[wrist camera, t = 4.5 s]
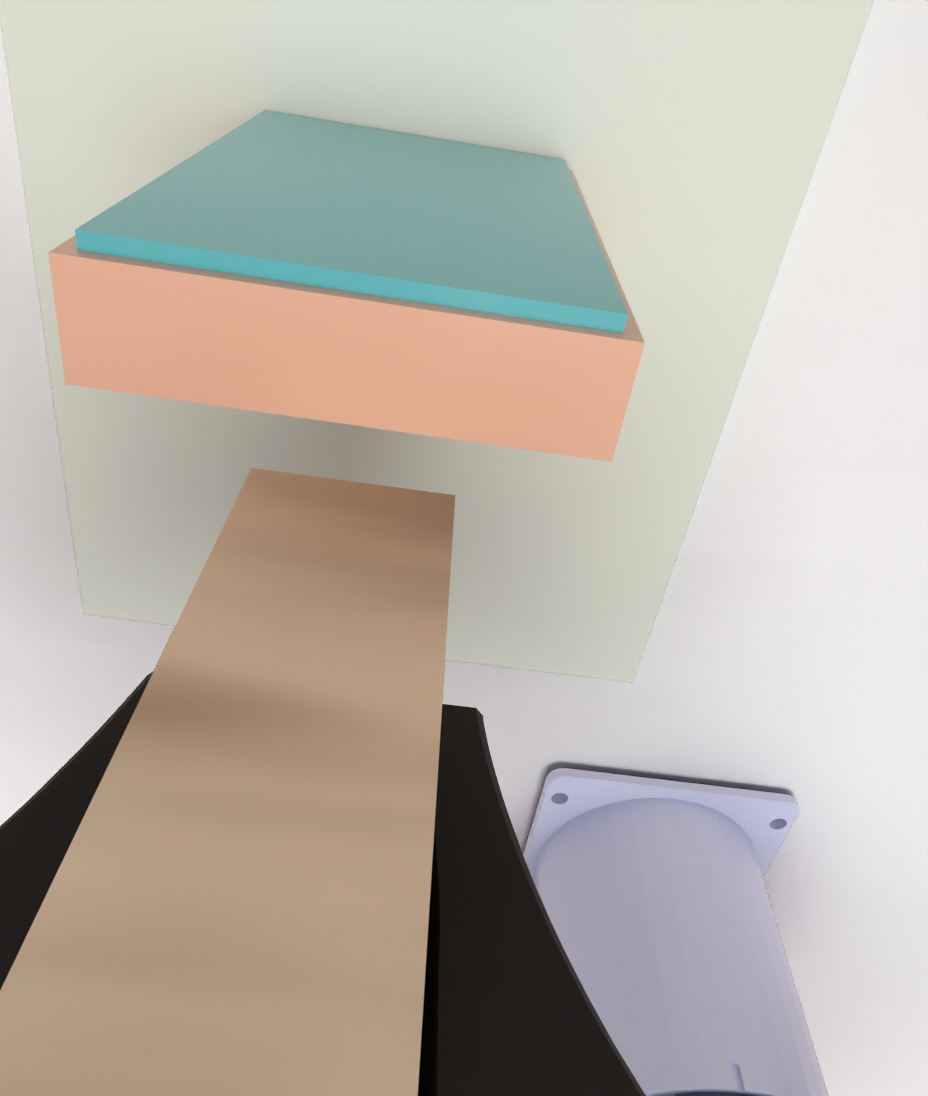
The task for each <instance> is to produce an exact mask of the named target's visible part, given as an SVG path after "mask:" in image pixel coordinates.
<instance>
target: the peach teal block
mask: <svg viewBox="0 0 928 1096" xmlns="http://www.w3.org/2000/svg"><path fill="white" fill-rule="evenodd" d="M48 255H49V263H50V270H51V278H52V286H53V294H54V301H55V309H56V317H57V324H58V332H59V340H60V347H61V355H62V363H63V371H64V378H65V384H67V385H75V386H82V387H89V388H96V389H103V390H110V391H117V392H124V393H131V394H138V395H145V396H152V397H159V398H166V399H173V400H180V401H187V402H194V403H201V404H208V405H215V406H222V407H229V408H236V409H243V410H250V411H257V412H264V413H271V414H278V415H285V416H292V417H299V418H306V419H313V420H321V421H328V422H335V423H342V424H349V425H356V426H363V427H370V428H377V429H384V430H391V431H398V432H405V433H412V434H419V435H426V436H433V437H440V438H447V439H454V440H461V441H468V442H475V443H482V444H489V445H496V446H503V447H510V448H517V449H524V450H531V451H538V452H545V453H552V454H559V455H567V456H574V457H581V458H588V459H595V460H602V461H609V462H612V459H613V456H614V452H615V449H616V445H617V441H618V438H619V434H620V431H621V427H622V424H623V420H624V416H625V413H626V409H627V406H628V402H629V398H630V395H631V391H632V388H633V384H634V380H635V377H636V373H637V370H638V366H639V363H640V359H641V355H642V352H643V348H644V345H645V342H644V339H643V337H642V335H641V332H640V330H639V327H638V325H637V323H636V320H635V318H634V316H633V313H632V311H631V308H630V306H629V304H628V301H627V299H626V297H625V294H624V292H623V289H622V287H621V285H620V282H619V280H618V277H617V275H616V273H615V270H614V268H613V266H612V263H611V261H610V258H609V256H608V254H607V251H606V249H605V246H604V244H603V242H602V239H601V237H600V235H599V232H598V230H597V227H596V225H595V223H594V220H593V218H592V216H591V213H590V211H589V208H588V206H587V204H586V201H585V199H584V196H583V194H582V192H581V189H580V187H579V185H578V182H577V180H576V177H575V175H574V173H573V171H572V170H569V167H568V165H567V162H566V160H565V159H559V158H553V157H547V156H541V155H535V154H529V153H523V152H517V151H511V150H504V149H498V148H492V147H486V146H480V145H474V144H468V143H462V142H456V141H450V140H444V139H438V138H432V137H425V136H419V135H413V134H407V133H401V132H395V131H389V130H383V129H377V128H371V127H365V126H359V125H353V124H347V123H340V122H334V121H328V120H322V119H316V118H310V117H304V116H298V115H292V114H286V113H280V112H274V111H268V110H264V111H262V112H261V113H259V114H257V115H256V116H254V117H253V118H251V119H249V120H248V121H246V122H245V123H243V124H242V125H240V126H238V127H237V128H235V129H234V130H232V131H230V132H229V133H227V134H226V135H224V136H222V137H221V138H219V139H218V140H216V141H215V142H213V143H211V144H210V145H208V146H207V147H205V148H203V149H202V150H200V151H199V152H197V153H195V154H194V155H192V156H191V157H189V158H188V159H186V160H184V161H183V162H181V163H180V164H178V165H176V166H175V167H173V168H172V169H170V170H168V171H167V172H165V173H164V174H162V175H161V176H159V177H157V178H156V179H154V180H153V181H151V182H149V183H148V184H146V185H145V186H143V187H141V188H140V189H138V190H137V191H135V192H134V193H132V194H130V195H129V196H127V197H126V198H124V199H122V200H121V201H119V202H118V203H116V204H115V205H113V206H111V207H110V208H108V209H107V210H105V211H103V212H102V213H100V214H99V215H97V216H95V217H94V218H92V219H91V220H89V221H88V222H86V223H84V224H83V225H81V226H80V227H78V228H76V229H75V235H74V236H73V237H71V238H70V239H68V240H67V241H65V242H64V243H62V244H60V245H59V246H57V247H56V248H54V249H53V250H51V251H50V252H48Z"/></svg>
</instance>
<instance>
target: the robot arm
mask: <svg viewBox="0 0 928 1096" xmlns="http://www.w3.org/2000/svg"><path fill="white" fill-rule="evenodd" d="M153 672H154V671H153ZM153 672H152V673H150V674H149V675H147V676H146V678H145V679H144V680H143V681H142V682H141V683H140V684H139V686H138V687H137V688H136V689H135V690H134V691H133V692H132V694H131V695H130V696H129V697H128V698H127V699H126V700H125V701H124V703H123V704H122V705H121V706H120V707H119V708H118V709H117V710H116V711H115V712H114V714H113V715H112V716H111V717H110V718H109V719H108V720H107V721H106V722H105V723H104V724H103V726H102V727H101V728H100V729H99V730H98V731H97V732H96V733H95V734H94V735H93V736H92V737H91V738H90V739H89V740H88V741H87V742H86V743H85V745H84V746H83V747H82V748H81V749H80V750H79V751H78V752H77V753H76V754H75V755H74V756H73V757H72V758H71V759H70V760H69V761H68V762H67V763H66V764H65V765H64V766H63V767H62V768H61V769H60V770H59V771H58V772H57V773H56V774H55V775H54V776H53V777H52V778H51V779H50V780H49V781H48V782H47V783H46V784H45V785H44V786H43V787H42V788H41V789H40V790H39V791H38V792H37V793H36V794H35V795H34V796H33V797H32V798H30V799H29V800H28V801H27V802H26V803H25V804H24V805H23V806H22V807H21V808H20V809H19V810H18V811H16V812H15V813H14V814H13V815H12V816H11V817H10V818H9V819H8V820H7V821H6V822H4V823H3V824H2V825H1V826H0V990H1V988H2V986H3V984H4V982H5V980H6V978H7V976H8V974H9V971H10V969H11V967H12V965H13V963H14V961H15V959H16V957H17V955H18V953H19V951H20V949H21V946H22V944H23V942H24V940H25V938H26V936H27V934H28V932H29V930H30V928H31V926H32V924H33V921H34V919H35V917H36V915H37V913H38V911H39V909H40V907H41V905H42V903H43V901H44V899H45V896H46V894H47V892H48V890H49V888H50V886H51V884H52V882H53V880H54V878H55V876H56V874H57V871H58V869H59V867H60V865H61V863H62V861H63V859H64V857H65V855H66V853H67V851H68V849H69V846H70V844H71V842H72V840H73V838H74V836H75V834H76V832H77V830H78V828H79V826H80V824H81V821H82V819H83V817H84V815H85V813H86V811H87V809H88V807H89V805H90V803H91V801H92V799H93V796H94V794H95V792H96V790H97V788H98V786H99V784H100V782H101V780H102V778H103V776H104V774H105V772H106V769H107V767H108V765H109V763H110V761H111V759H112V757H113V755H114V753H115V751H116V749H117V747H118V744H119V742H120V740H121V738H122V736H123V734H124V732H125V730H126V728H127V726H128V724H129V722H130V719H131V717H132V715H133V713H134V711H135V709H136V707H137V705H138V703H139V701H140V699H141V697H142V694H143V692H144V690H145V688H146V686H147V684H148V682H149V680H150V678H151V676H152V674H153ZM556 793H562V794H556ZM799 812H800V809H799V806H798V804H797V801H796V799H795V798H794V797H793V796H790V795H787V794H780V793H771V792H763V791H754V790H746V789H738V788H729V787H721V786H712V785H704V784H695V783H687V782H679V781H670V780H662V779H653V778H645V777H636V776H628V775H620V774H611V773H603V772H594V771H586V770H577V769H569V768H558V769H555V770H553V771H551V772H550V773H549V774H548V775H547V777H546V780H545V783H544V787H543V790H542V793H541V797H540V800H539V803H538V807H537V810H536V813H535V817H534V820H533V823H532V827H531V830H530V833H529V837H528V840H527V843H526V847H525V850H524V853H522V851H521V848H520V845H519V842H518V840H517V837H516V834H515V832H514V829H513V826H512V823H511V821H510V818H509V815H508V812H507V809H506V806H505V803H504V800H503V797H502V794H501V790H500V787H499V784H498V780H497V777H496V774H495V770H494V767H493V763H492V759H491V755H490V751H489V747H488V743H487V738H486V733H485V728H484V722H483V715H482V714H481V713H480V712H479V711H478V710H477V709H476V708H471V707H462V706H454V705H446V704H442V716H441V732H440V748H439V764H438V779H437V795H436V811H435V827H434V843H433V859H432V875H431V891H430V907H429V923H428V939H427V955H426V971H425V987H424V1003H423V1019H422V1035H421V1050H420V1066H419V1082H418V1096H828V1093H827V1089H826V1086H825V1083H824V1079H823V1076H822V1073H821V1069H820V1066H819V1063H818V1060H817V1056H816V1053H815V1050H814V1046H813V1043H812V1040H811V1036H810V1033H809V1030H808V1026H807V1023H806V1020H805V1017H804V1013H803V1010H802V1007H801V1003H800V1000H799V997H798V993H797V990H796V987H795V983H794V980H793V977H792V973H791V970H790V967H789V964H788V960H787V957H786V954H785V950H784V947H783V944H782V940H781V937H780V934H779V930H778V927H777V924H776V921H775V917H774V914H773V911H772V907H771V904H770V901H769V897H768V894H767V891H766V887H765V884H764V881H763V876H764V874H765V872H766V871H767V869H768V867H769V865H770V864H771V862H772V860H773V858H774V857H775V855H776V853H777V852H778V850H779V848H780V846H781V845H782V843H783V841H784V839H785V838H786V836H787V834H788V832H789V831H790V829H791V827H792V825H793V824H794V822H795V820H796V819H797V817H798V815H799Z"/></svg>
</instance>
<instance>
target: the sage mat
mask: <svg viewBox="0 0 928 1096" xmlns="http://www.w3.org/2000/svg"><path fill="white" fill-rule="evenodd" d="M873 2H874V0H0V22H1V30H2V37H3V44H4V51H5V58H6V65H7V72H8V80H9V87H10V94H11V101H12V108H13V115H14V123H15V130H16V137H17V144H18V151H19V158H20V165H21V173H22V180H23V187H24V194H25V201H26V208H27V215H28V223H29V230H30V237H31V244H32V251H33V258H34V266H35V273H36V280H37V287H38V294H39V301H40V308H41V316H42V323H43V330H44V337H45V344H46V351H47V358H48V366H49V373H50V380H51V387H52V394H53V401H54V408H55V416H56V423H57V430H58V437H59V444H60V451H61V459H62V466H63V473H64V480H65V487H66V494H67V501H68V509H69V516H70V523H71V530H72V537H73V544H74V551H75V559H76V566H77V573H78V580H79V587H80V594H81V602H82V609H83V614H85V615H93V616H101V617H109V618H117V619H125V620H133V621H141V622H149V623H157V624H165V625H173V626H176V624H177V622H178V619H179V617H180V615H181V613H182V611H183V609H184V607H185V605H186V603H187V601H188V599H189V597H190V594H191V592H192V590H193V588H194V586H195V584H196V582H197V580H198V578H199V576H200V574H201V572H202V569H203V567H204V565H205V563H206V561H207V559H208V557H209V555H210V553H211V551H212V549H213V547H214V544H215V542H216V540H217V538H218V536H219V534H220V532H221V530H222V528H223V526H224V524H225V522H226V520H227V517H228V515H229V513H230V511H231V509H232V507H233V505H234V503H235V501H236V499H237V497H238V495H239V492H240V490H241V488H242V486H243V484H244V482H245V480H246V478H247V476H248V474H249V472H250V470H251V468H256V469H264V470H271V471H279V472H286V473H294V474H301V475H308V476H316V477H323V478H331V479H338V480H346V481H353V482H361V483H368V484H376V485H383V486H391V487H398V488H405V489H413V490H420V491H428V492H435V493H443V494H450V495H455V508H454V524H453V540H452V556H451V572H450V588H449V604H448V620H447V636H446V652H445V660H451V661H459V662H467V663H475V664H483V665H491V666H499V667H507V668H515V669H523V670H531V671H539V672H547V673H555V674H563V675H571V676H579V677H587V678H595V679H602V680H610V681H618V682H626V683H633V680H634V677H635V674H636V671H637V669H638V666H639V663H640V660H641V657H642V654H643V652H644V649H645V646H646V643H647V640H648V637H649V635H650V632H651V629H652V626H653V623H654V621H655V618H656V615H657V612H658V609H659V606H660V604H661V601H662V598H663V595H664V592H665V589H666V587H667V584H668V581H669V578H670V575H671V573H672V570H673V567H674V564H675V561H676V558H677V556H678V553H679V550H680V547H681V544H682V541H683V539H684V536H685V533H686V530H687V527H688V525H689V522H690V519H691V516H692V513H693V510H694V508H695V505H696V502H697V499H698V496H699V493H700V491H701V488H702V485H703V482H704V479H705V476H706V474H707V471H708V468H709V465H710V462H711V460H712V457H713V454H714V451H715V448H716V445H717V443H718V440H719V437H720V434H721V431H722V428H723V426H724V423H725V420H726V417H727V414H728V412H729V409H730V406H731V403H732V400H733V397H734V395H735V392H736V389H737V386H738V383H739V380H740V378H741V375H742V372H743V369H744V366H745V364H746V361H747V358H748V355H749V352H750V349H751V347H752V344H753V341H754V338H755V335H756V332H757V330H758V327H759V324H760V321H761V318H762V316H763V313H764V310H765V307H766V304H767V301H768V299H769V296H770V293H771V290H772V287H773V284H774V282H775V279H776V276H777V273H778V270H779V268H780V265H781V262H782V259H783V256H784V253H785V251H786V248H787V245H788V242H789V239H790V236H791V234H792V231H793V228H794V225H795V222H796V220H797V217H798V214H799V211H800V208H801V205H802V203H803V200H804V197H805V194H806V191H807V188H808V186H809V183H810V180H811V177H812V174H813V172H814V169H815V166H816V163H817V160H818V157H819V155H820V152H821V149H822V146H823V143H824V140H825V138H826V135H827V132H828V129H829V126H830V124H831V121H832V118H833V115H834V112H835V109H836V107H837V104H838V101H839V98H840V95H841V92H842V90H843V87H844V84H845V81H846V78H847V75H848V73H849V70H850V67H851V64H852V61H853V59H854V56H855V53H856V50H857V47H858V44H859V42H860V39H861V36H862V33H863V30H864V27H865V25H866V22H867V19H868V16H869V13H870V11H871V8H872V5H873ZM264 110H268V111H274V112H280V113H286V114H292V115H298V116H304V117H310V118H316V119H322V120H328V121H334V122H340V123H347V124H353V125H359V126H365V127H371V128H377V129H383V130H389V131H395V132H401V133H407V134H413V135H419V136H425V137H432V138H438V139H444V140H450V141H456V142H462V143H468V144H474V145H480V146H486V147H492V148H498V149H504V150H511V151H517V152H523V153H529V154H535V155H541V156H547V157H553V158H559V159H565V160H566V162H567V165H568V167H569V170H572V171H573V173H574V175H575V177H576V180H577V182H578V185H579V187H580V189H581V192H582V194H583V196H584V199H585V201H586V204H587V206H588V208H589V211H590V213H591V216H592V218H593V220H594V223H595V225H596V227H597V230H598V232H599V235H600V237H601V239H602V242H603V244H604V246H605V249H606V251H607V254H608V256H609V258H610V261H611V263H612V266H613V268H614V270H615V273H616V275H617V277H618V280H619V282H620V285H621V287H622V289H623V292H624V294H625V297H626V299H627V301H628V304H629V306H630V308H631V311H632V313H633V316H634V318H635V320H636V323H637V325H638V327H639V330H640V332H641V335H642V337H643V339H644V342H645V345H644V348H643V352H642V355H641V359H640V363H639V366H638V370H637V373H636V377H635V380H634V384H633V388H632V391H631V395H630V398H629V402H628V406H627V409H626V413H625V416H624V420H623V424H622V427H621V431H620V434H619V438H618V441H617V445H616V449H615V452H614V456H613V459H612V462H609V461H602V460H595V459H588V458H581V457H574V456H567V455H559V454H552V453H545V452H538V451H531V450H524V449H517V448H510V447H503V446H496V445H489V444H482V443H475V442H468V441H461V440H454V439H447V438H440V437H433V436H426V435H419V434H412V433H405V432H398V431H391V430H384V429H377V428H370V427H363V426H356V425H349V424H342V423H335V422H328V421H321V420H313V419H306V418H299V417H292V416H285V415H278V414H271V413H264V412H257V411H250V410H243V409H236V408H229V407H222V406H215V405H208V404H201V403H194V402H187V401H180V400H173V399H166V398H159V397H152V396H145V395H138V394H131V393H124V392H117V391H110V390H103V389H96V388H89V387H82V386H75V385H67V384H65V378H64V371H63V363H62V355H61V347H60V340H59V332H58V324H57V317H56V309H55V301H54V294H53V286H52V278H51V270H50V263H49V255H48V252H50V251H51V250H53V249H54V248H56V247H57V246H59V245H60V244H62V243H64V242H65V241H67V240H68V239H70V238H71V237H73V236H74V235H75V229H76V228H78V227H80V226H81V225H83V224H84V223H86V222H88V221H89V220H91V219H92V218H94V217H95V216H97V215H99V214H100V213H102V212H103V211H105V210H107V209H108V208H110V207H111V206H113V205H115V204H116V203H118V202H119V201H121V200H122V199H124V198H126V197H127V196H129V195H130V194H132V193H134V192H135V191H137V190H138V189H140V188H141V187H143V186H145V185H146V184H148V183H149V182H151V181H153V180H154V179H156V178H157V177H159V176H161V175H162V174H164V173H165V172H167V171H168V170H170V169H172V168H173V167H175V166H176V165H178V164H180V163H181V162H183V161H184V160H186V159H188V158H189V157H191V156H192V155H194V154H195V153H197V152H199V151H200V150H202V149H203V148H205V147H207V146H208V145H210V144H211V143H213V142H215V141H216V140H218V139H219V138H221V137H222V136H224V135H226V134H227V133H229V132H230V131H232V130H234V129H235V128H237V127H238V126H240V125H242V124H243V123H245V122H246V121H248V120H249V119H251V118H253V117H254V116H256V115H257V114H259V113H261V112H262V111H264Z"/></svg>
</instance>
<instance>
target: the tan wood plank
mask: <svg viewBox="0 0 928 1096" xmlns="http://www.w3.org/2000/svg"><path fill="white" fill-rule="evenodd" d="M454 508H455V495H450V494H443V493H435V492H428V491H420V490H413V489H405V488H398V487H391V486H383V485H376V484H368V483H361V482H353V481H346V480H338V479H331V478H323V477H316V476H308V475H301V474H294V473H286V472H279V471H271V470H264V469H256V468H251V470H250V472H249V474H248V476H247V478H246V480H245V482H244V484H243V486H242V488H241V490H240V492H239V495H238V497H237V499H236V501H235V503H234V505H233V507H232V509H231V511H230V513H229V515H228V517H227V520H226V522H225V524H224V526H223V528H222V530H221V532H220V534H219V536H218V538H217V540H216V542H215V544H214V547H213V549H212V551H211V553H210V555H209V557H208V559H207V561H206V563H205V565H204V567H203V569H202V572H201V574H200V576H199V578H198V580H197V582H196V584H195V586H194V588H193V590H192V592H191V594H190V597H189V599H188V601H187V603H186V605H185V607H184V609H183V611H182V613H181V615H180V617H179V619H178V622H177V624H176V626H175V628H174V630H173V632H172V634H171V636H170V638H169V640H168V642H167V644H166V647H165V649H164V651H163V653H162V655H161V657H160V659H159V661H158V663H157V665H156V667H155V669H154V672H153V674H152V676H151V678H150V680H149V682H148V684H147V686H146V688H145V690H144V692H143V694H142V697H141V699H140V701H139V703H138V705H137V707H136V709H135V711H134V713H133V715H132V717H131V719H130V722H129V724H128V726H127V728H126V730H125V732H124V734H123V736H122V738H121V740H120V742H119V744H118V747H117V749H116V751H115V753H114V755H113V757H112V759H111V761H110V763H109V765H108V767H107V769H106V772H105V774H104V776H103V778H102V780H101V782H100V784H99V786H98V788H97V790H96V792H95V794H94V796H93V799H92V801H91V803H90V805H89V807H88V809H87V811H86V813H85V815H84V817H83V819H82V821H81V824H80V826H79V828H78V830H77V832H76V834H75V836H74V838H73V840H72V842H71V844H70V846H69V849H68V851H67V853H66V855H65V857H64V859H63V861H62V863H61V865H60V867H59V869H58V871H57V874H56V876H55V878H54V880H53V882H52V884H51V886H50V888H49V890H48V892H47V894H46V896H45V899H44V901H43V903H42V905H41V907H40V909H39V911H38V913H37V915H36V917H35V919H34V921H33V924H32V926H31V928H30V930H29V932H28V934H27V936H26V938H25V940H24V942H23V944H22V946H21V949H20V951H19V953H18V955H17V957H16V959H15V961H14V963H13V965H12V967H11V969H10V971H9V974H8V976H7V978H6V980H5V982H4V984H3V986H2V988H1V990H0V1096H418V1082H419V1066H420V1050H421V1035H422V1019H423V1003H424V987H425V971H426V955H427V939H428V923H429V907H430V891H431V875H432V859H433V843H434V827H435V811H436V795H437V779H438V764H439V748H440V732H441V716H442V700H443V684H444V668H445V652H446V636H447V620H448V604H449V588H450V572H451V556H452V540H453V524H454Z"/></svg>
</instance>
